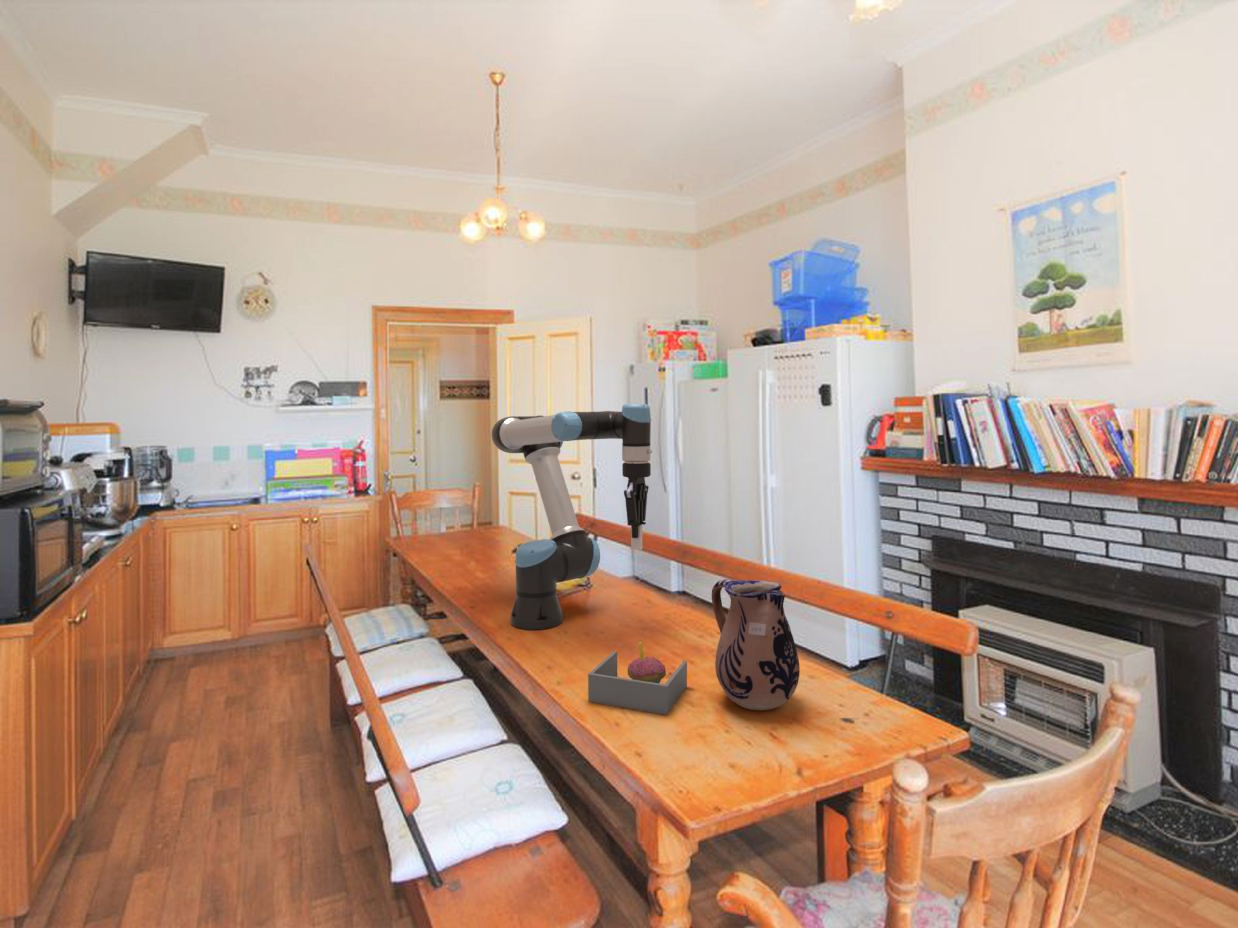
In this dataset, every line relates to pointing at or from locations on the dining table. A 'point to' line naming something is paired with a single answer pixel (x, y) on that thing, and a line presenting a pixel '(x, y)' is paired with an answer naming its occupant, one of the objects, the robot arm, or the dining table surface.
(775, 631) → the ceramic pitcher
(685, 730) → the dining table surface
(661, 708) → the box
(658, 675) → the cupcake
